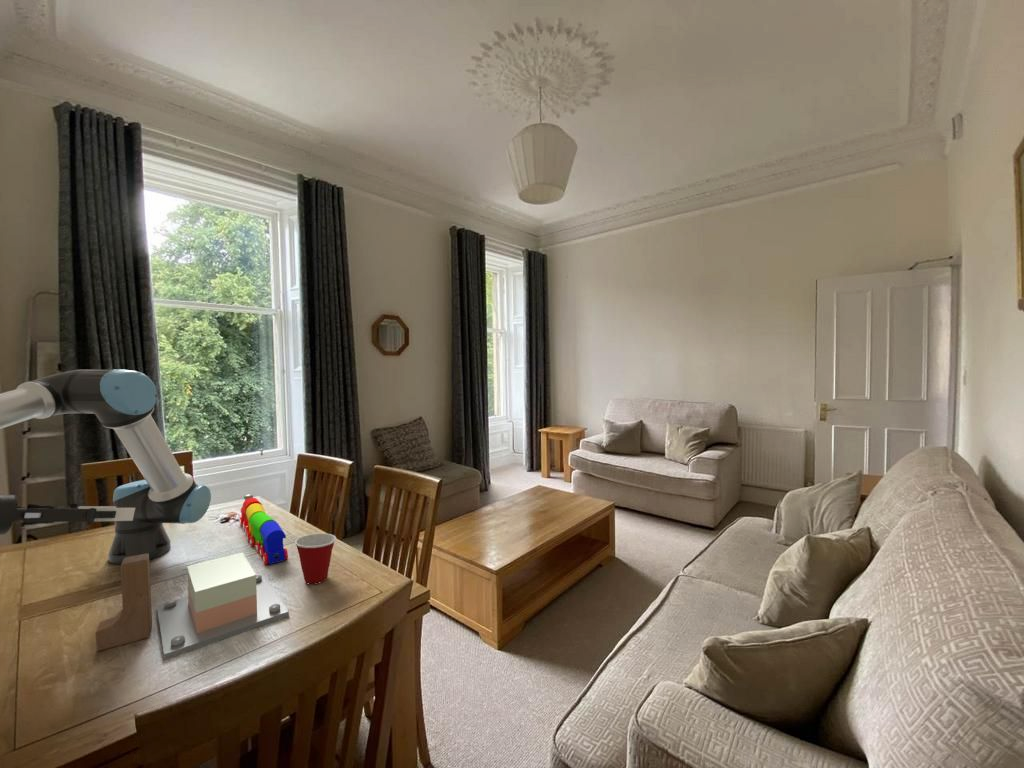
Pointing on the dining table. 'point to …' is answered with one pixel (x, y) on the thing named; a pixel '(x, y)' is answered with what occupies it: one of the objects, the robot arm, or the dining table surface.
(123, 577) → the wooden block
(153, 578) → the dining table surface
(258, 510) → the toy train
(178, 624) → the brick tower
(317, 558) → the plastic cup
